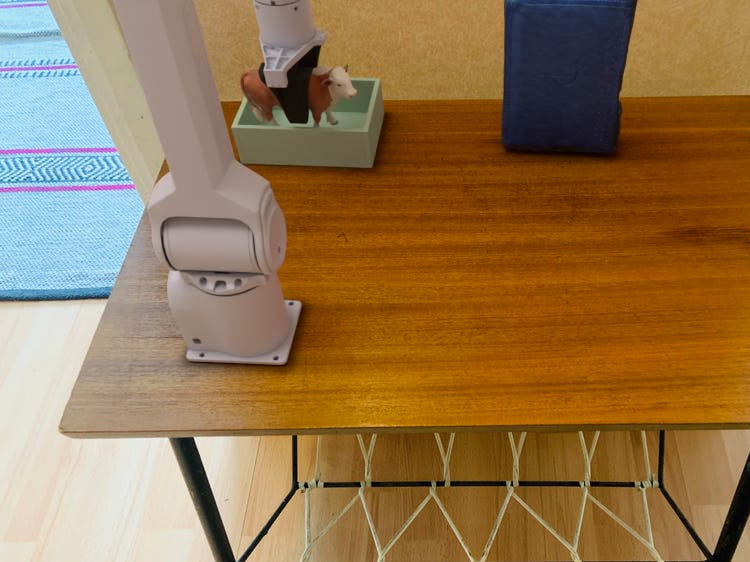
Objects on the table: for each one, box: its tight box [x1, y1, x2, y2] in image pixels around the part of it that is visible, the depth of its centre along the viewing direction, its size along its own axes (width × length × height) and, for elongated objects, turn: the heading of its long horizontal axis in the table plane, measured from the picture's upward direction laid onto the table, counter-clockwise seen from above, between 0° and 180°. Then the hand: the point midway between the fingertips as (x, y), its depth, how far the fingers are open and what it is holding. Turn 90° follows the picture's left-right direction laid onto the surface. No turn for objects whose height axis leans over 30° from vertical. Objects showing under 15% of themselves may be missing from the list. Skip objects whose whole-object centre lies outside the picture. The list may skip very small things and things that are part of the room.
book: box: [500, 0, 639, 154], centre depth 87 cm, size 14×5×20 cm, turn 86°
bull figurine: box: [239, 64, 357, 127], centre depth 88 cm, size 4×13×8 cm, turn 82°
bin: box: [230, 77, 385, 169], centre depth 94 cm, size 16×11×5 cm
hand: (303, 110), depth 89 cm, fingers closed on bull figurine, 4 cm apart
